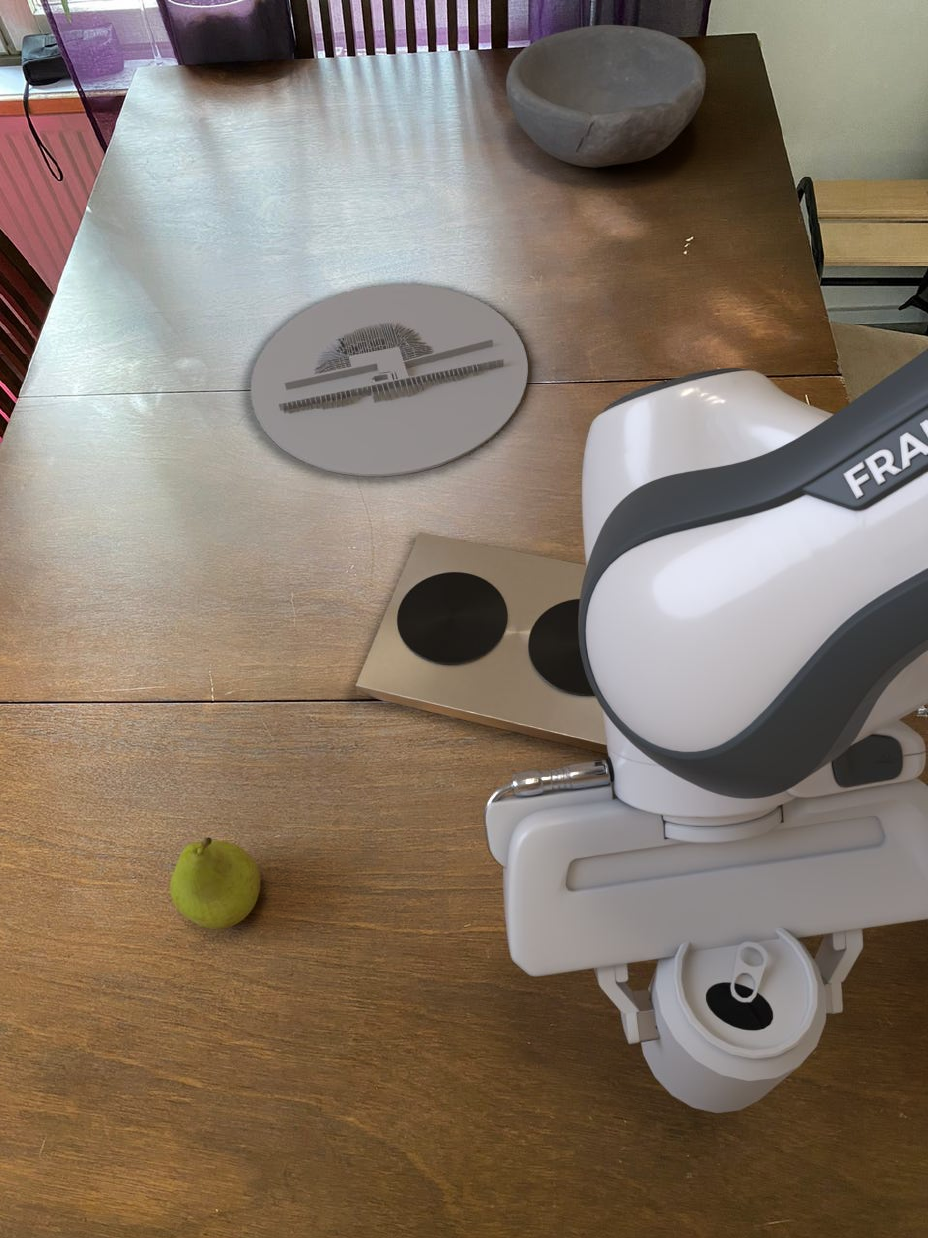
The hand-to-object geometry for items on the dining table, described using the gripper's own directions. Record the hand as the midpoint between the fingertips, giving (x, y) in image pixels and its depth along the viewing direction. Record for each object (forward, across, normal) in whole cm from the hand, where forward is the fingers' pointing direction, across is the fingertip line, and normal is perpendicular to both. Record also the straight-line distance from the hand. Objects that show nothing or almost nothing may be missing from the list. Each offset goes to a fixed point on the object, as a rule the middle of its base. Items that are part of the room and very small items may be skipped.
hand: (732, 1021), depth 46 cm
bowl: (-62, +16, +85) cm, 107 cm away
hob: (-12, -5, +35) cm, 38 cm away
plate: (-36, -13, +60) cm, 71 cm away
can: (+4, 0, +5) cm, 7 cm away
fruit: (+1, -29, +23) cm, 37 cm away
